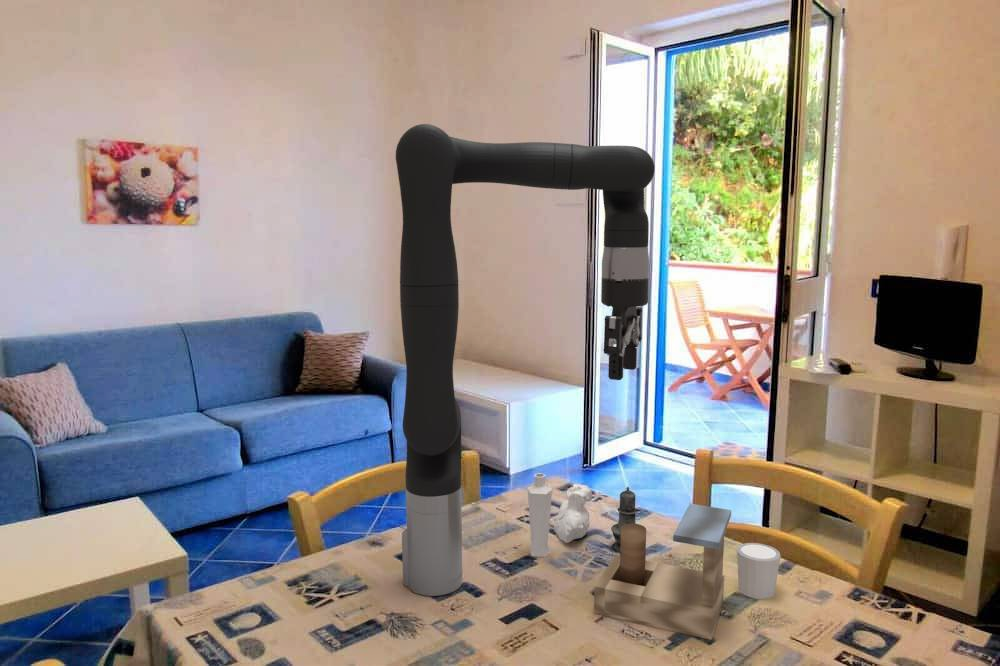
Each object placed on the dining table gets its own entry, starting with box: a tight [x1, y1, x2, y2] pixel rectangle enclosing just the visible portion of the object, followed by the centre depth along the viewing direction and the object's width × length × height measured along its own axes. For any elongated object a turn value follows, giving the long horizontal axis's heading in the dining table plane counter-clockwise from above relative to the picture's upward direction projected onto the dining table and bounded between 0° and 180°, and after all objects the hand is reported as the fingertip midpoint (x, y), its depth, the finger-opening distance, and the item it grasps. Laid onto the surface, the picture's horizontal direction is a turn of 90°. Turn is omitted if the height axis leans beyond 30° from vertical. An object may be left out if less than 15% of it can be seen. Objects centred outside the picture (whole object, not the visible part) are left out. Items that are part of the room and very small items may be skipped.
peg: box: [619, 523, 647, 586], centre depth 118 cm, size 4×4×12 cm
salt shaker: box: [610, 486, 638, 553], centre depth 138 cm, size 6×6×12 cm
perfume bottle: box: [527, 472, 553, 558], centre depth 135 cm, size 5×4×15 cm
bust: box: [553, 483, 593, 544], centre depth 143 cm, size 12×8×11 cm
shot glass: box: [736, 542, 781, 600], centre depth 122 cm, size 7×7×7 cm
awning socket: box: [593, 503, 732, 641], centre depth 116 cm, size 18×13×16 cm
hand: (622, 374), depth 121 cm, fingers open, 8 cm apart
